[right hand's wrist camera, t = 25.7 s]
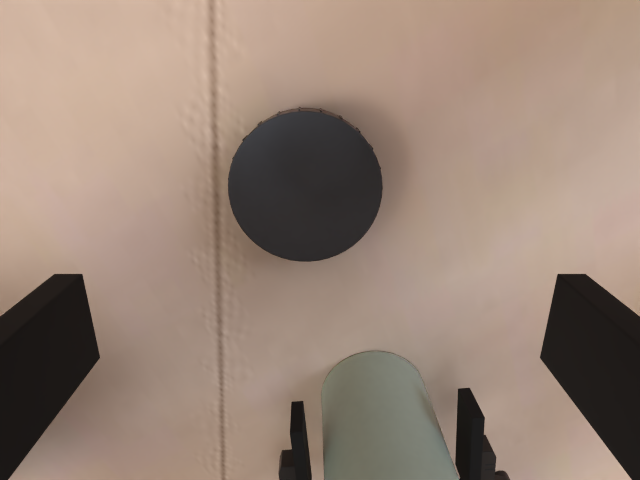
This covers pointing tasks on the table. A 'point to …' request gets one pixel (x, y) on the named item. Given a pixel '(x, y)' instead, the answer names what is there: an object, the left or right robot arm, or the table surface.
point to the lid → (305, 185)
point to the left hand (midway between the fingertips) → (383, 409)
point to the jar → (381, 422)
